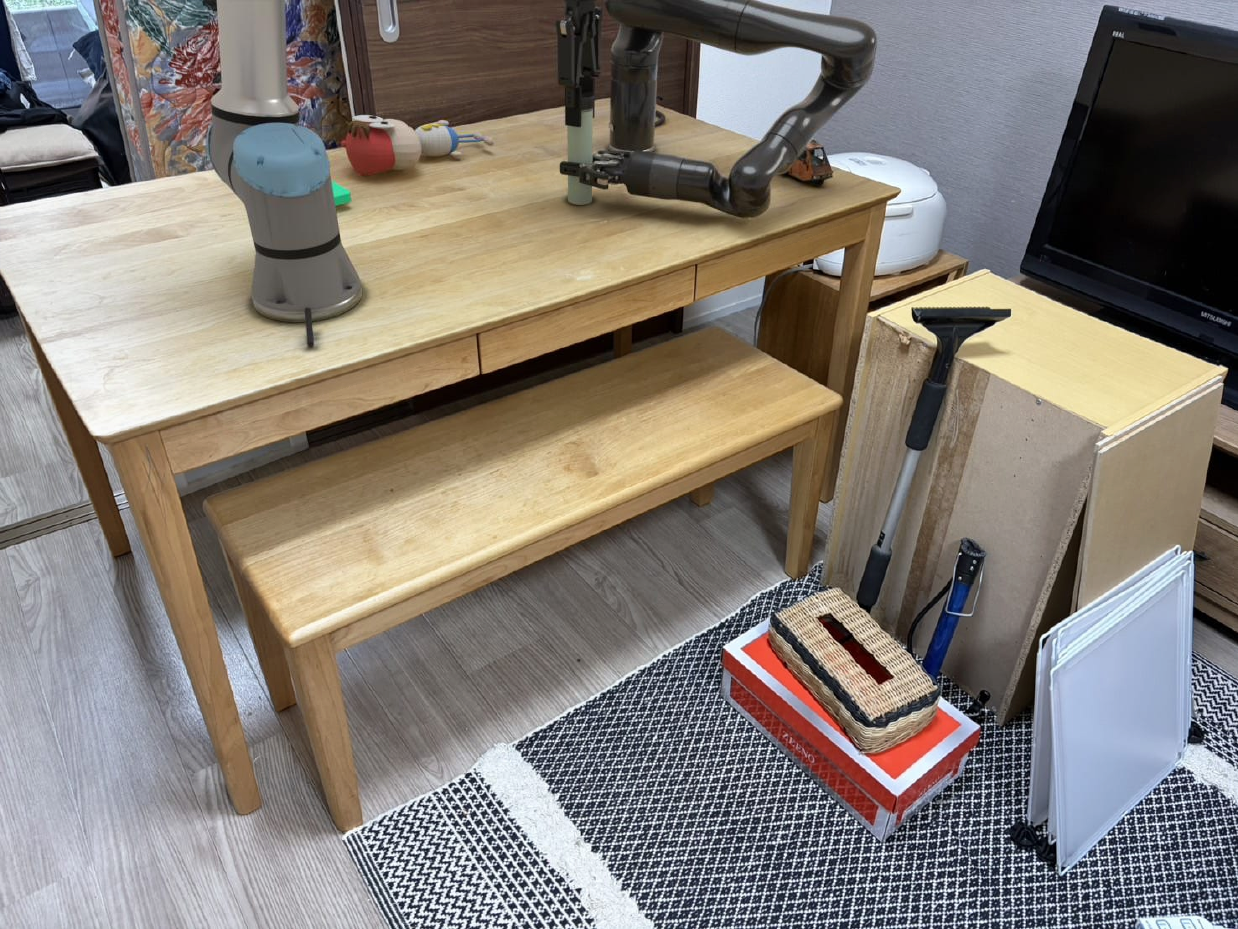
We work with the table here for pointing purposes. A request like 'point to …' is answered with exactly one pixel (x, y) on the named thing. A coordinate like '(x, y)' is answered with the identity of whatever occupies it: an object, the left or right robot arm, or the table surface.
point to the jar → (580, 157)
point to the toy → (399, 143)
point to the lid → (587, 100)
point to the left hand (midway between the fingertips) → (580, 120)
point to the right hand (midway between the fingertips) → (566, 162)
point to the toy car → (811, 165)
